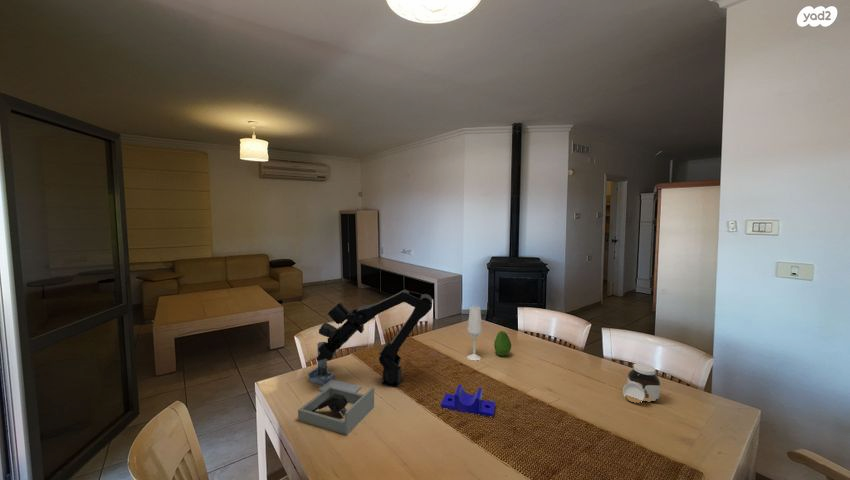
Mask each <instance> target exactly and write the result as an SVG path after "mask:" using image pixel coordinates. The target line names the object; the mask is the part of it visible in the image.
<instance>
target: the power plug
mask: <svg viewBox="0 0 850 480" xmlns="http://www.w3.org/2000/svg"><path fill="white" fill-rule="evenodd" d="M348 404H349V402H348V401H347V400H346V398H345V397H344V395H339V394H336V393H335V394H333V395H332V396H330V397H329V398H327V399H326V400H324V401H323V402H322V403H321V404H320V405H319V406H318V407H317V408H315V409H314V410H312V411H313V412H316V411H318V410H322V409H324V408H326V407H328V408H329V409H330V411H331V413H332V414H333V415H336V414H338V413H339V414H340V416H341V417H342V418H345V412H346V411H347V410H348V409H346V406H348ZM342 410H343V411H344V412H343V411H342Z"/></svg>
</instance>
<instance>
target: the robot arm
mask: <svg viewBox="0 0 850 480" xmlns="http://www.w3.org/2000/svg"><path fill="white" fill-rule="evenodd" d="M402 303H406V304H408V305H409V306H410V307H411V306H412V307H413V310H412V312H411V314H410V316H409V317H408V318H407V320H406V321H405V323H404V324H403V325H402V327H401V328H400V329H399V331H398V333H397V334H396V335H395V337H394V338H393V339H392V340H391V341H389V340H386V342H385V345H383V346H382V347H381V350H380V351H379V357H378V360H379V364H380V365H381V366H383V370H382V380H383V381H382V382H381V385H383V386H384V385H385V386H390V387H393V388H397V387H398V386H399V385H400V384H401V383H402V382H403V380H404V379H403V377H402V366H400V364H401V361H402V357H401V356H399V354H398V352H399V350H400V348H401V346H403V344H404V342H405V341H406V339H407V338H409V336H410V334H411V333H412V332H413V330H414V329H415V326H417V324H418V323H419V321H420V320H421V319H423V317H425V316H427V314H428V313H429V312H430V311H431V310H432V309H433V297H432V296H431V295H430V294H428V293H423V294H422V293H419V292H415V291H410V290H407V289H403V290H401V291H400V292H397V293H396V294H393V295H391V296H388V297H387V298H384V299H383V300H380V301H378V302H376V303H372V304H367V305H363V306H360V307H358V308H357V309H354V308H353V309H351V310H349V309H348V308H346V307H345V305H344V304H343V303H342V302H341V301H340V302H338V304H337V305H335V306H334V307H333V308H331V310H330V311H329V312H327V316H328V317H329V318H330V319H332V320H333V322H335V324H337V325H341V326H339V327H336V326H333V325H332V324H330V323H327V322H324V323H322V325H321V326H320V328H319V329H318V334H319V335H321V336H323V337H325V338H326V337H327V341H323V342H324V343H323V344H322V345H321V346H320V347H319V348H318V347H317V352H318V351H319V352H320V354H319V356H318V355H317V357H316V361H317V362H318V361H320V360H323V359H327V362H328V361H329V362H330V361H331V360H332V359H333V358H334V357H335V355H336V354H337V353H336V351H337V350H339V349H340V348H341V347H342V346H344V344H346V343H347V342H348V341H349V339H350V338H352V336H353V335H355V333H356V332H359V333H360V334H363V332H364V330H365V324H366V323H368V322H370V321H371V320H372V319H373V318H375V317H376V316H377V315H379V314H381V313H382V312H383V313H384V312H386V311H388V310H389V309H391V308H395V306H398V305H401V304H402Z"/></svg>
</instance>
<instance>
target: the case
mask: <svg viewBox="0 0 850 480" xmlns="http://www.w3.org/2000/svg"><path fill="white" fill-rule="evenodd" d="M335 393H336V394H339V395H344V397H345V398H346V400H347V401H348V403H351V404H352V405H351V406H350V407H349V408H348V409H346V410H347V411H346V412H345V411H344V420H343V419H339V418H336V417H331V416H328V415H325V414H321V413H318V412H316V411H314V412H313V411H312V410H314V409H315V408H317V407H318V406H319V405H320V404H321V403H322V402H323V401H324V400H326V399H327V398H329V397H330V396H332V395H333V394H335ZM374 407H375V387H373V386H372V387H370V388H369V389H368V390H367V391H366V392H364V393H359V392H356V393H355V392H351V391H347V390H343V389H339V388H335V387H331V386H329V387H328V388H326V389H325V390H324V391H323V392H322V391H320V393H318V394H317V395H316V396H315V397H312V399H310V400H309V401H308V402H307V403H305V404H304V405H302V406H301V407H300V408H299V409H297V421H298V422H303V423H306V424H310V425H312V426H315V427H319V428H322V429H326V430H329V431H332V432H336V433H338V434H339V433H340V434H342V435H345V436H348V435H349V434H350V433H351V432H352V431H353V430H354V429H355V428H356V427H357V425H359V423H360V422H361V421H362V420H363V419H364V418H365V417H366V416H367V415H368V414H369V413H370V412H371V411H372V410H373V409H374Z"/></svg>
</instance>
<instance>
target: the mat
mask: <svg viewBox="0 0 850 480" xmlns="http://www.w3.org/2000/svg"><path fill="white" fill-rule="evenodd" d="M329 386H331V387H335V388H339V389H343V390H347V391H351V392H355V393H359V392H358V391H360V390H361V389H362V385H357V384H353V383H348V382H344V381H341V380H335V379H331V380H330V381H329V382H327V383H326V384H325V385H321V386H320V387H318V389H317V391H318V392H323V391H324V390H325V389H326V388H328V387H329Z"/></svg>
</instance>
